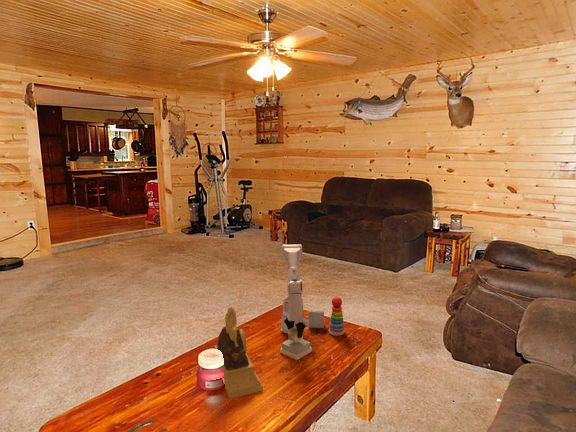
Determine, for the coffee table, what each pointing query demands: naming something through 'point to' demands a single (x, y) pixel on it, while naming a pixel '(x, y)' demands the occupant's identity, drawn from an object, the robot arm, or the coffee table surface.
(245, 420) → the coffee table surface
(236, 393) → the seated figure statue
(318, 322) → the medicine box
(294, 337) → the ash cube
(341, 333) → the stacking toy
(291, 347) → the top slab
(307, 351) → the bottom slab
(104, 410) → the coffee table surface
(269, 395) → the coffee table surface
